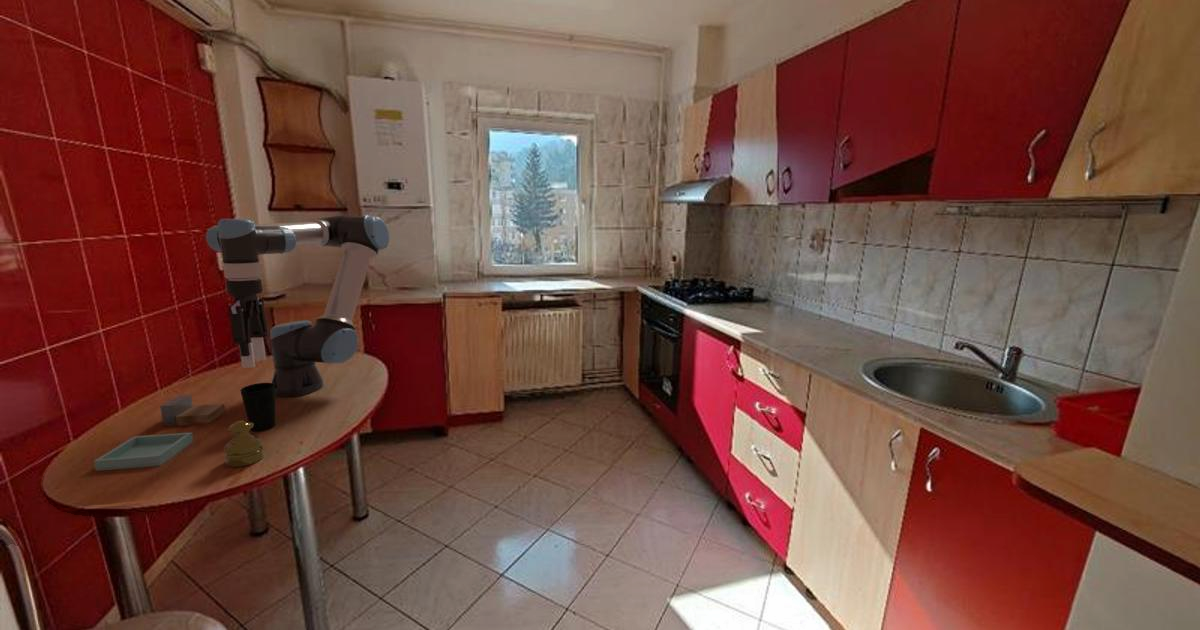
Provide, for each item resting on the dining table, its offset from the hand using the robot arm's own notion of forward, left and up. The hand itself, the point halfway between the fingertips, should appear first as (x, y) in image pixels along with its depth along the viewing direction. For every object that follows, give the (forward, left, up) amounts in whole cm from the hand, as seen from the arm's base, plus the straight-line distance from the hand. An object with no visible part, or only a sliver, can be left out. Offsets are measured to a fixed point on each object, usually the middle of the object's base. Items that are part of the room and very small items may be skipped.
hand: (254, 363), depth 126 cm
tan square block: (+20, -10, -19) cm, 29 cm away
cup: (0, 0, -19) cm, 19 cm away
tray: (+20, +12, -19) cm, 30 cm away
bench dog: (+25, -10, -19) cm, 33 cm away
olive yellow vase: (-4, +19, -19) cm, 27 cm away
